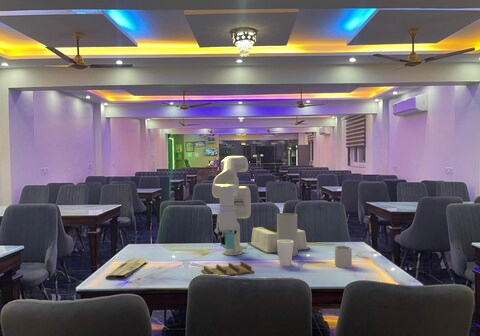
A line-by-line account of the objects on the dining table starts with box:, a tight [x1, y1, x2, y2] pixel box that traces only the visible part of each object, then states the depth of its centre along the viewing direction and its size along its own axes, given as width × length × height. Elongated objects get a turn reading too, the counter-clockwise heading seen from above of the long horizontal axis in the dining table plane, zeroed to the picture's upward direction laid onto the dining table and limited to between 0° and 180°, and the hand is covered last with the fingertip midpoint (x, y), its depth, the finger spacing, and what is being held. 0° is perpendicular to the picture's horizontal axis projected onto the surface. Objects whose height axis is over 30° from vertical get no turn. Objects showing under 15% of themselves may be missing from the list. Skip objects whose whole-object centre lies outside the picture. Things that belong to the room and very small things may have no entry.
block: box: [220, 231, 234, 250], centre depth 194 cm, size 4×9×8 cm, turn 24°
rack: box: [200, 260, 255, 277], centre depth 194 cm, size 24×14×3 cm, turn 114°
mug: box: [334, 245, 353, 269], centre depth 206 cm, size 11×10×10 cm
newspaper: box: [105, 257, 148, 279], centre depth 201 cm, size 35×12×4 cm, turn 178°
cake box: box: [247, 224, 311, 254], centre depth 255 cm, size 35×33×12 cm
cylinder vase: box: [276, 212, 299, 258], centre depth 231 cm, size 12×12×25 cm
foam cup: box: [277, 240, 294, 267], centre depth 209 cm, size 10×9×13 cm
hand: (227, 243), depth 194 cm, fingers closed on block, 4 cm apart
